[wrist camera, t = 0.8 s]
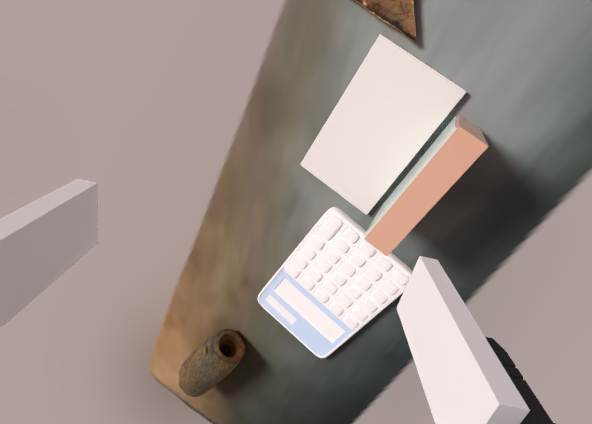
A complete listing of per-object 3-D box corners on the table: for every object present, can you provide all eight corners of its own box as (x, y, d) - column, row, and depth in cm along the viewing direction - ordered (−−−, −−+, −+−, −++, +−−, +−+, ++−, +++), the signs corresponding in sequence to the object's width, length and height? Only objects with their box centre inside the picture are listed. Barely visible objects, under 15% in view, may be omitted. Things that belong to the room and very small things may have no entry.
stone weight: (223, 313, 57) (197, 339, 51) (255, 342, 56) (232, 372, 50) (190, 357, 64) (163, 384, 58) (217, 383, 63) (194, 414, 58)
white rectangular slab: (381, 34, 34) (380, 34, 34) (466, 91, 33) (466, 91, 32) (302, 163, 42) (300, 164, 42) (367, 213, 41) (366, 215, 40)
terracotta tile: (457, 113, 34) (456, 124, 25) (480, 129, 33) (488, 146, 25) (382, 203, 40) (362, 237, 31) (402, 218, 39) (386, 256, 31)
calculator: (420, 273, 41) (419, 281, 40) (325, 355, 51) (321, 364, 50) (334, 201, 43) (329, 206, 41) (258, 294, 53) (252, 301, 51)
